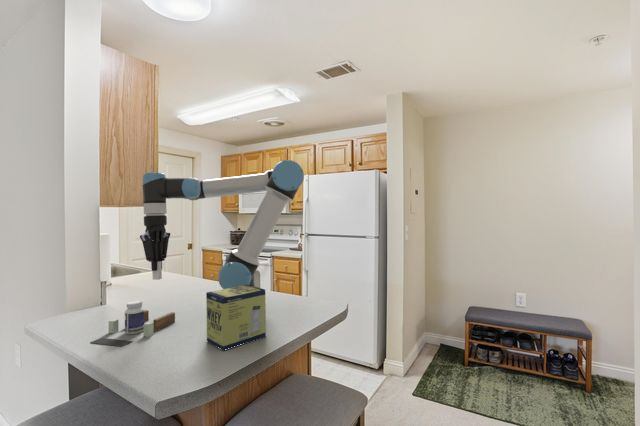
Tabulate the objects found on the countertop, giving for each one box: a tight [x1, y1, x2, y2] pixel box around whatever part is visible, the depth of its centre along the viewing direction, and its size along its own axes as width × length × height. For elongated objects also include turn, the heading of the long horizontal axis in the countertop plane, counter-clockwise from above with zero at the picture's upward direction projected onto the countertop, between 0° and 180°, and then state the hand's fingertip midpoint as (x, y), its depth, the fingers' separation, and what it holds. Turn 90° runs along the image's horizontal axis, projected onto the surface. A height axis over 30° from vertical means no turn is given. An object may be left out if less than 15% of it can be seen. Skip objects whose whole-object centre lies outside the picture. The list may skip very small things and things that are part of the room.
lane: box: [144, 309, 176, 331], centre depth 117 cm, size 13×9×4 cm
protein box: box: [205, 285, 267, 351], centre depth 103 cm, size 10×16×16 cm
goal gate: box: [108, 318, 154, 338], centre depth 108 cm, size 16×2×4 cm, turn 76°
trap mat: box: [89, 337, 133, 348], centre depth 101 cm, size 12×4×1 cm, turn 76°
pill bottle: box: [124, 300, 145, 335], centre depth 110 cm, size 6×6×10 cm
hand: (157, 279), depth 119 cm, fingers closed
